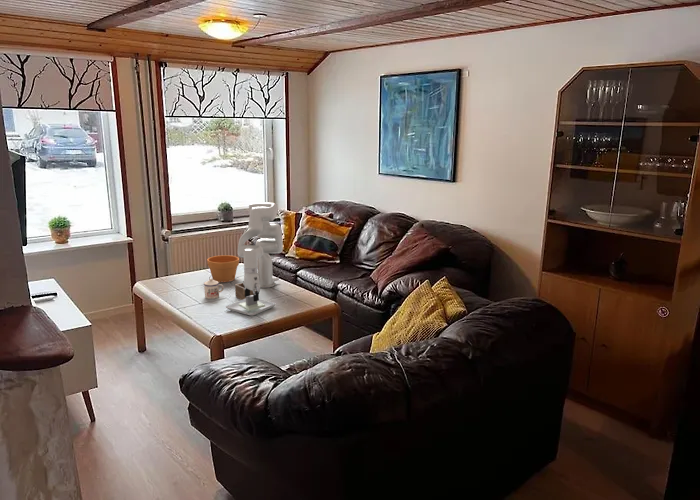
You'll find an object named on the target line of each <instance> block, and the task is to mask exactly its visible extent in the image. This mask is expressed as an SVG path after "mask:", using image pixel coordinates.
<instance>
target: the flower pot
mask: <svg viewBox="0 0 700 500" xmlns="http://www.w3.org/2000/svg"><path fill="white" fill-rule="evenodd" d="M206 260H207V261H206V263H207V266H208V268H209V270H210V273H211V274H210V275H211V279H213V280H215V281H218V282H219V283H229V282H233V281H235V278H236V274H237V271H238V270H237V269H238V266H240V265H239V263H240V257H239V256H236V255H227V254H226V255H225V254H224V255H215V256H210V257H208V258H207V259H206Z"/></svg>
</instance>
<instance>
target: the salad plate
mask: <svg viewBox="0 0 700 500" xmlns="http://www.w3.org/2000/svg"><path fill="white" fill-rule="evenodd" d="M244 302H246V298H245V299H243V300H241V299H240V300H238V301H236V302H234V303H233V302H232V303H231V304H228V305H226V306H225V308H226V309H227V310H229V311H232V312H235V313H240V314H243V315H245V316H246V315H247V316H250V317H253V316H255V315H258V314H260V313H262V312H265V311H267V310H269V309H271V308H273V307H274V306H276V305H277V303H276V302H272V301H268V300H264V299H261V298H259V302H261V303H263V304H265V307H262V308H258V309H254V310H250V311H248V310H246V309H244V308H242V307H240V306H239V304H240V303H244Z"/></svg>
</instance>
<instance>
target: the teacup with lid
mask: <svg viewBox="0 0 700 500" xmlns="http://www.w3.org/2000/svg"><path fill="white" fill-rule="evenodd" d="M203 287H204V298H205V299H208V300H213V299H214V300H215V299H218V298H220V293H222V292H223V291H224V285H223V284H222V283H221V284H220V282H218V281H215V280H213V278H209V280H206V281H205V282H203ZM219 287H221V290H220V288H219Z"/></svg>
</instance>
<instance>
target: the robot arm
mask: <svg viewBox="0 0 700 500" xmlns="http://www.w3.org/2000/svg"><path fill="white" fill-rule="evenodd" d="M248 210H249V219H248V227H247V229H246V231H244V232H243V233H242V234H241V236H240V238H239V239H238V244H237V255H238V256H237V257H238V258H239V259H243V274H244V276H243V281H242V283H243V285H244V290H245V297H246V296H250V290H251V291H253V293H254V295H253V299H254V302H255V301H259V299H260V293H261V289H262V288H263V289H265V288H266V289H267V288H272V287H274V286H276V283H275V282H277V281H280V279H279V277H273V259H272V257H271V255H270V254H281V253H282V252H283V249H284V247H283V246H284V245H283V244H284V243H283V242H284V241H283V231H282V230H283V229H282V226H281V225H280V224H279V223H270V222H273V221H274V220H275V218H276V216H277V214H278V204H276V203H275V202H251V203H249V204H248ZM254 237H258V238H259V239H257V240H256V242H255V244H253V245H252V244H245V243H246V242H247V241H248V240H250V239H253V238H254ZM255 291H256V292H255Z"/></svg>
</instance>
